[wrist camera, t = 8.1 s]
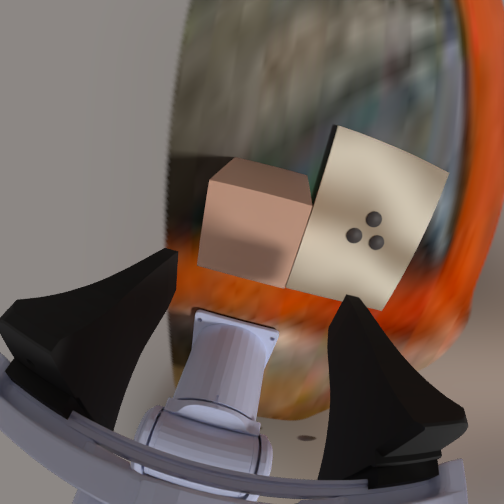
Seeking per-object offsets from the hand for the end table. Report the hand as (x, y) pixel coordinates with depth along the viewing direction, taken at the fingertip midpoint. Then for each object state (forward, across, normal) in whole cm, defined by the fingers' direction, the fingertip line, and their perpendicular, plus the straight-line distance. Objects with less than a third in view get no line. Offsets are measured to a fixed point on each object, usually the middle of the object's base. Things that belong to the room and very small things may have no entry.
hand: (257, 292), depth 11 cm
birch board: (+9, -7, 0) cm, 12 cm away
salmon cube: (+9, +1, -1) cm, 9 cm away
